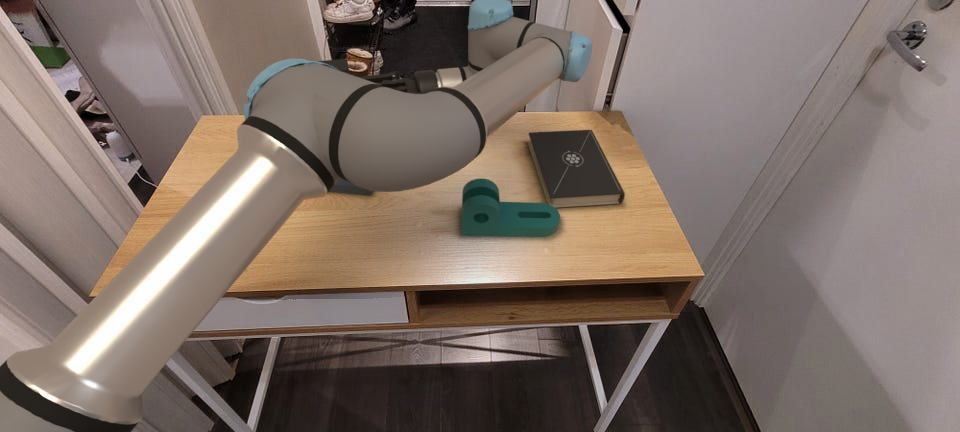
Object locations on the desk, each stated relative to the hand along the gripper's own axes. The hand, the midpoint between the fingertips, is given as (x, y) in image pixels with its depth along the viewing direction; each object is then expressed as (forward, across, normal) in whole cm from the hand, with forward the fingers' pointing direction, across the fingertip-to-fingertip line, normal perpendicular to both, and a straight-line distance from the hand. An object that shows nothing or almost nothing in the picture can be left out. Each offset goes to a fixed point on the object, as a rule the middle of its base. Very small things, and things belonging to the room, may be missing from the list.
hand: (309, 102), depth 82 cm
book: (-50, -9, -17) cm, 53 cm away
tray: (-2, +1, -17) cm, 17 cm away
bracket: (-33, -21, -17) cm, 42 cm away
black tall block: (-5, 0, -8) cm, 10 cm away
